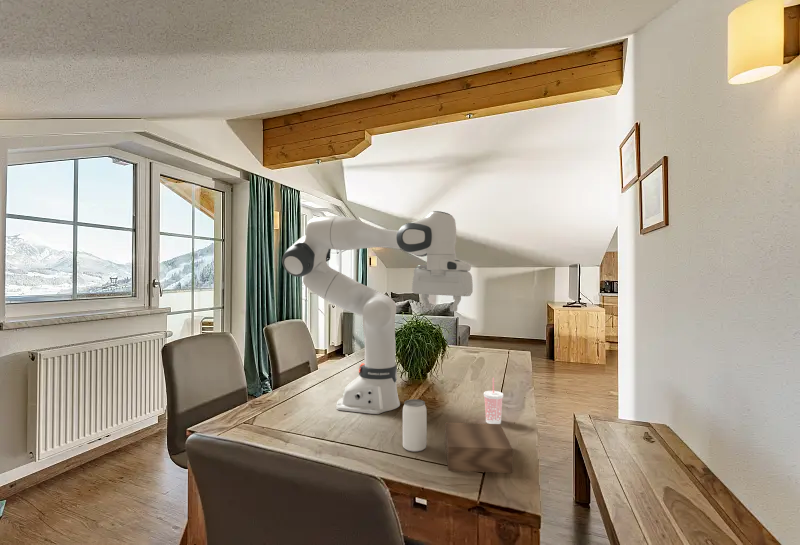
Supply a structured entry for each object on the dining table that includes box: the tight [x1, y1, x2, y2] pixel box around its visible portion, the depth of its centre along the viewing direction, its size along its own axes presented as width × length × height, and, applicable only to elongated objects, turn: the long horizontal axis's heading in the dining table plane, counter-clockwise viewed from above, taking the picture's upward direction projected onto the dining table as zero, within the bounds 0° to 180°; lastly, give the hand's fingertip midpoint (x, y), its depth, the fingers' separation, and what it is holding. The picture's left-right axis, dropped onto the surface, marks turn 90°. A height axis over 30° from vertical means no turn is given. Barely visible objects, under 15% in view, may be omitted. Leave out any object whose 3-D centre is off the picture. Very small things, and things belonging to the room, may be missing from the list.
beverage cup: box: [483, 377, 504, 425], centre depth 121 cm, size 6×6×14 cm
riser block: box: [444, 421, 513, 474], centre depth 98 cm, size 15×15×6 cm
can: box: [402, 398, 428, 453], centre depth 103 cm, size 6×6×12 cm
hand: (440, 310), depth 116 cm, fingers open, 8 cm apart
